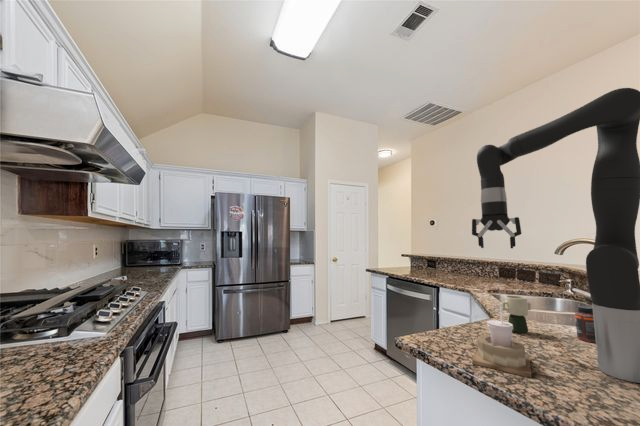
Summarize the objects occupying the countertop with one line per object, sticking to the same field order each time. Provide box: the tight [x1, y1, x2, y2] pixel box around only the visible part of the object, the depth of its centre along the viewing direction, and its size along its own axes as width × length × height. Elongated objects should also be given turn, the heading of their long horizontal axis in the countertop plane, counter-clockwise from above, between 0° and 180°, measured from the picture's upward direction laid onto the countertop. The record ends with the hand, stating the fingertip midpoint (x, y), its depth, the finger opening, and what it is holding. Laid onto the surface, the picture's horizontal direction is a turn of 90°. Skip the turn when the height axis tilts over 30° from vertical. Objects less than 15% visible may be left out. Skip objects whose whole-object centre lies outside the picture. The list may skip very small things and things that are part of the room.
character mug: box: [501, 294, 532, 334], centre depth 102 cm, size 11×7×13 cm, turn 90°
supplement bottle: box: [574, 305, 596, 344], centre depth 94 cm, size 6×6×11 cm
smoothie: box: [486, 307, 514, 347], centre depth 77 cm, size 6×6×14 cm
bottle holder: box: [471, 334, 532, 379], centre depth 76 cm, size 13×13×6 cm
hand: (496, 248), depth 92 cm, fingers open, 8 cm apart
